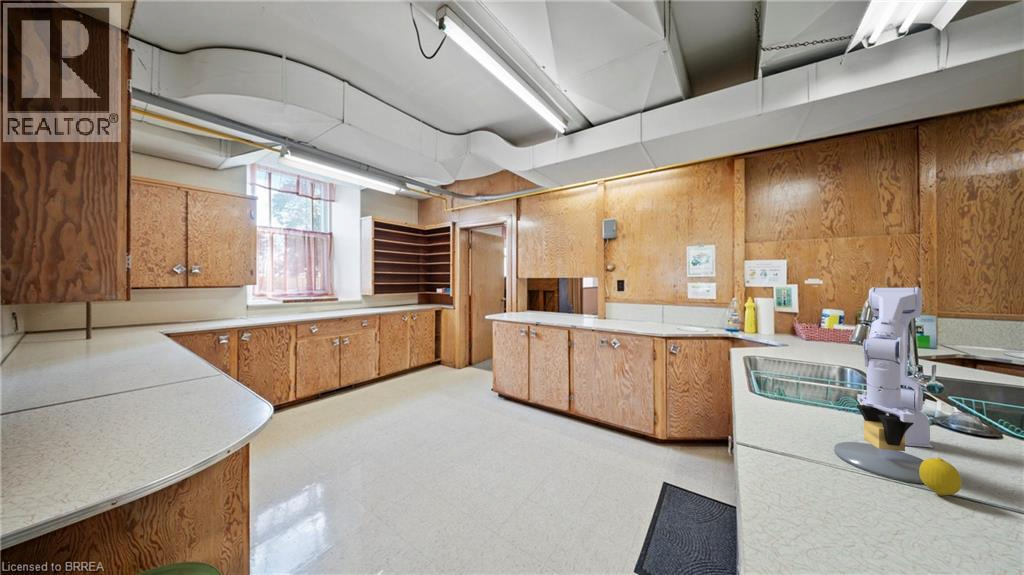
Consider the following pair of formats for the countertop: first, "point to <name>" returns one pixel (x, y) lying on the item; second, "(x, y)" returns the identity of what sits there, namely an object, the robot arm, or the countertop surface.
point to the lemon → (940, 476)
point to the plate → (880, 461)
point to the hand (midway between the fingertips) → (883, 439)
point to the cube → (879, 436)
